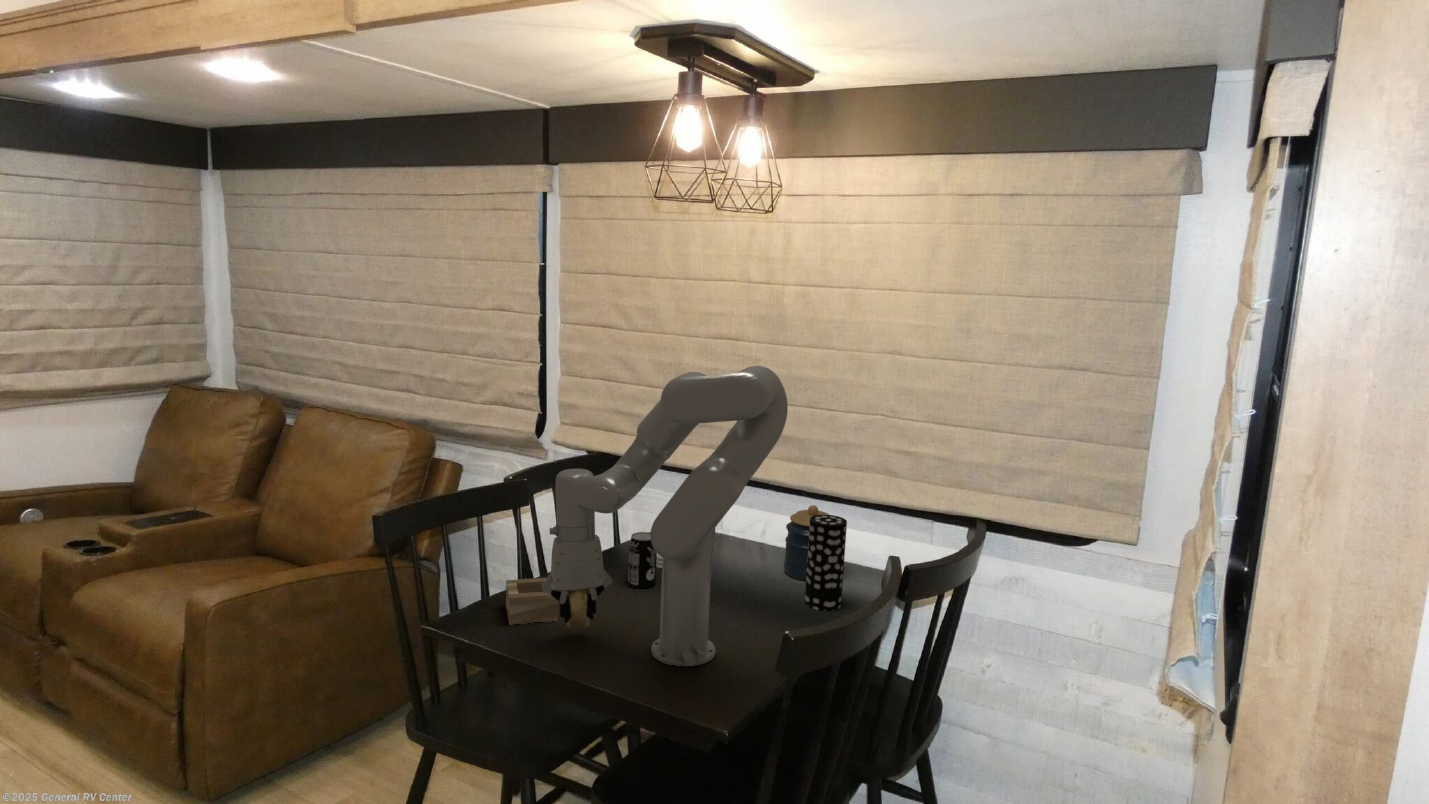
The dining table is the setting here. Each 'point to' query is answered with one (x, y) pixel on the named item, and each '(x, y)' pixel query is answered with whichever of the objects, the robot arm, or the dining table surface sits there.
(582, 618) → the banded brass cylinder
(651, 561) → the beverage can
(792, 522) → the canister
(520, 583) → the frame
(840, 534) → the white-spotted black cylinder
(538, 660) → the dining table surface
